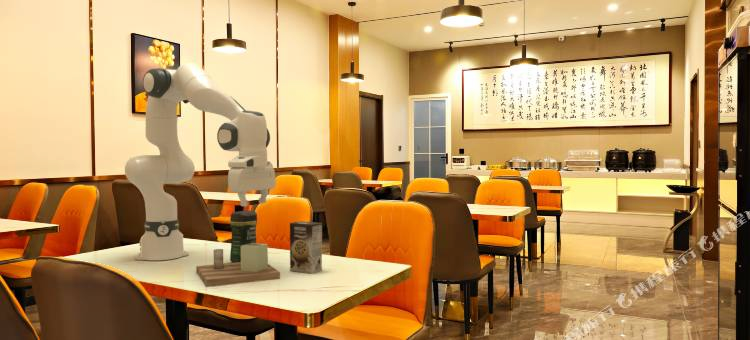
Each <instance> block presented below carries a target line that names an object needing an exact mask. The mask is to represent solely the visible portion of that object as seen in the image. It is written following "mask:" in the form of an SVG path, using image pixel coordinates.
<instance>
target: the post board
mask: <svg viewBox="0 0 750 340" xmlns="http://www.w3.org/2000/svg"><path fill="white" fill-rule="evenodd" d="M195 267H196V268H195V271H196V274H197V275H198V276H199V278H200V280H201V281H202V282H203V284H204V285H205V287H206V288H207V287H215V286H216V285H217V286H224V285H225V286H226V285H234V284H242V283H254V282H259V281H260V282H261V281H270V280H279V279H280V278H281V272H280V271H279V270H278V269H276V268H274V267H273V266H272V265H270V264H269V263H268V268H266V269H263V270H261V271H258V272H253V271H243V270H241V262H235V263H233V262H227V263H224V249H222V248H216V249H213V264H204V265H203V264H202V265H196V266H195Z"/></svg>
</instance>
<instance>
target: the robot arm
mask: <svg viewBox="0 0 750 340" xmlns="http://www.w3.org/2000/svg"><path fill="white" fill-rule="evenodd" d="M142 87H143V90H144V93H145V94H146V95H147V96H148V97H147V99H146V100H147V101H146V107H145V138H146V140H147V142H149V143H150V144H151V145H153V146H156V147H157V149H158V150H159V155H158V154H142V155H138V156H133V157H130V158H129V159H128V160H127V161H126V163H125V166H124V174H125V177H126V179H127V180H128V181H129V182H130V183H131V184H133V185H134V187H137V189H138V190H139V191H140V193H141V195H142V197H143V201H144V207H145V221H144V231H145V232H144V234H143V235H142V236H141V237H140V239H139V250H140V252H139V253H138V254H137V255H136V256H135V258H134V259H135V260H138V261H140V260H141V261H142V260H143V261H167V260H172V259H173V260H174V259H178V258H182V257H186V256H189V252H188V251H186V250H185V249H184V234H183V233H182V232H181V231H180V230H179V229H180V227H179V226H180V223H179V219H178V201H177V199H176V198H175V196H174V195H171V194H169V193H168V192H165V190H164V187H163V185H164V184H165V185H166V184H170V185H171V184H181V183H185V182H188V181H190V180H191V179H192V178H193V177H194V175H195V171H196V170H195V164H194V162H193V160H192V159H191V157H189V156H188V155H187V154H186V153H185V152H184V150H183V149H182V148H181V147H182V146H180V142H179V137H178V105H179V103H180V102H181V103H182V102H183V103H184V105H185V104H188V103H189V104H190V105H192V106H193V107H194V108H196V109H197V110H198V111H202V112H204V113H205V112H206V113H210V114H215V115H218V116H222V117H225V118H226V119H228V120H229V121H227V122H224V123H222V124H221V125H220V127H219V128H218V130H217V134H216V136H217V137H216V138H217V143H218V145H219V147H220V148H221V149H222V150H223V151H228V152H237V153H238V155H237V156H236V157H234V158H232V159H230V160H228V161H227V164H228V168H230V169H229V170H228V177H227V179H228V180H227V183H228V186H227V187H228V189H229V191H230V192H231V193H237V196H238V198H239V200H240V206H241V207H247V206H249V200H247V198H246V195H247V192H252V191H253V192H254V191H260V196H259V197H258V203H259V204H261V205H263V204H266V203H267V197H268V195H269V190H272V189H275V187H276V183H277V182H276V172H275V168H274V166H273V164H272V162H271V161H270V160H269V161H268V149H267V148H268V146H269V145H270V142H271V134H270V130H269V129H268V128H267V126H268V125H267V120H266V119H267V118H266V116H265V115H264V113H262V112H260V111H253V110H246V108H244V107H243V106H242V105H241V104H240V103H239V102H238V101H237V100H236V99H234V97H232V96H230V95H229V94H228V93H227V92H226V91H224V90H223V89H222V88H221V87H220V86H219V85H218V84H217V83H216V82H215V81H214V80H213V79H212V77H211V76H210V75H209V73H207V72H206V71H205V70H204V69H203V68H202V67H201V66H200V65H198V64H196V63H194V62H183V63H182V64H181V65H179V66H178V67H177V68H176V69H169V68H168V69H167V68H164V69H163V68H161V67H158V68H151V69H148V70H147V71H146V73H144V76H143V79H142Z"/></svg>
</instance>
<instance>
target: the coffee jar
mask: <svg viewBox="0 0 750 340" xmlns="http://www.w3.org/2000/svg"><path fill="white" fill-rule="evenodd" d="M229 224H230V226H231V239H230V241H231V242H230V255H229V261H230V263H235V262H241V246H242V245H246V244H250V243H257V224H258V213H257V212H256V211H255V210H241V211H240V210H239V211H234V212H232V213H231V214H230V219H229Z"/></svg>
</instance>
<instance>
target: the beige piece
mask: <svg viewBox="0 0 750 340" xmlns="http://www.w3.org/2000/svg"><path fill="white" fill-rule="evenodd" d="M268 249H269V248H268V243H257V242H256V243H250V244H246V245H242V246H241V270H243V271H253V272H258V271H261V270H263V269H266V268H268V264H269V263H268V262H269V261H268V259H269V257H268V254H269V253H268Z"/></svg>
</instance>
